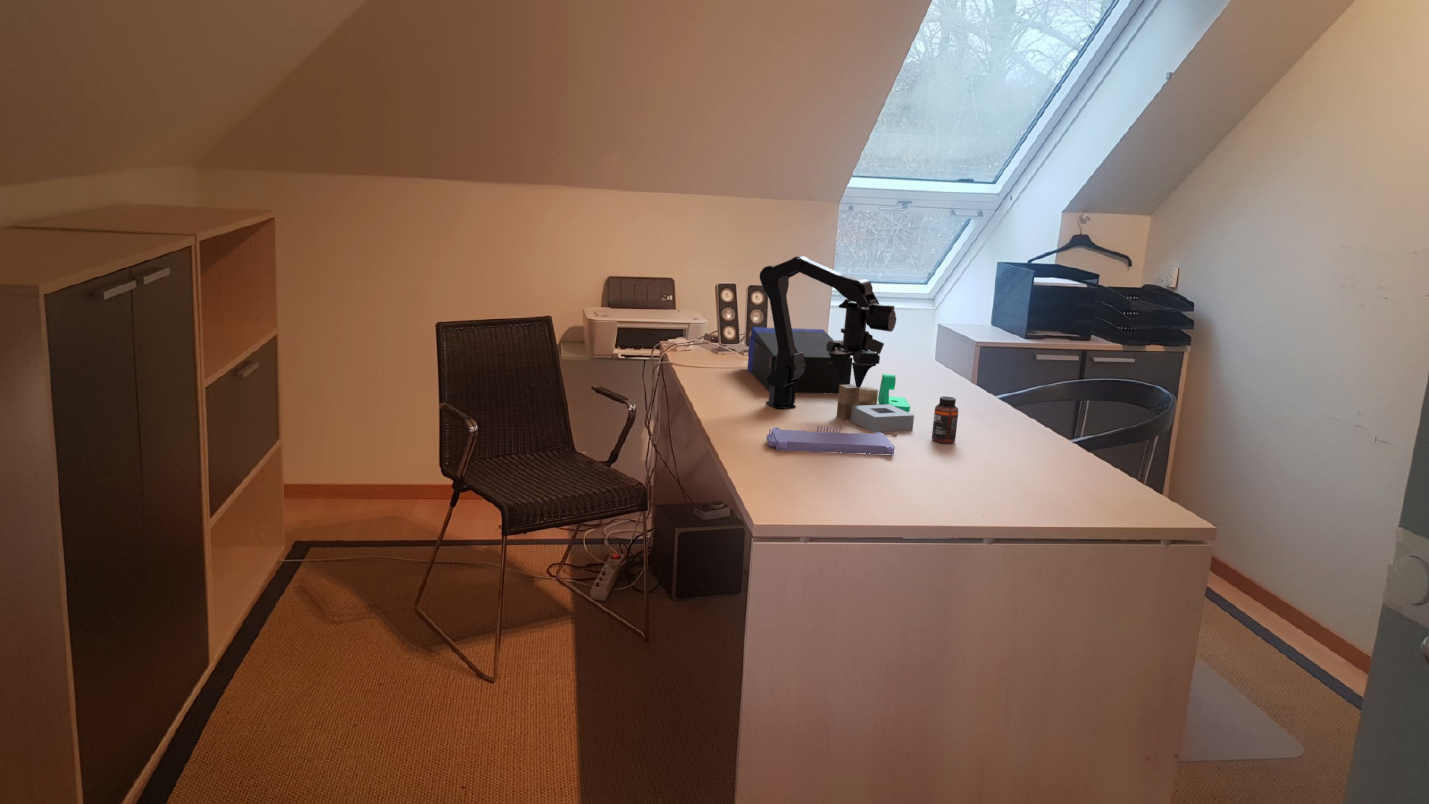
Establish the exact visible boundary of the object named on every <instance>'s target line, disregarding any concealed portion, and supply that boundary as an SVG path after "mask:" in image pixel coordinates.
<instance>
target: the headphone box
mask: <svg viewBox="0 0 1429 804" xmlns="http://www.w3.org/2000/svg"><path fill="white" fill-rule="evenodd" d="M792 333H793V339H794V345H795V348H796V349H797V351H798V353H801V352H803V353H804V362H805V364H806V366H805V367H804V373H803V374H802V376H801V377H800V378H798V380H797V383H794V385H795V390H796V394H824V393H839V385H850V384H851V379H852V370H853V366H852V362H853V357H852V356H850V357H849V359H848V360H847V363H846V368H845V373H844V378H843V380H839V378H838V375H837V372H836V370H835V367H834V364H833V362H832V359H831V357H830V355H829V351H827V350H826V348H827V343H828V342H829V341H835V339H833V337H831V336H830V335H829V334H828V332H826V331H825V329H823V328H821V329H818V328H794V327H793V328H792ZM748 344H749V345H748V352H747V356H748V359H747V371H748V372H749V373H750V374H751V375H752V376H753V377H754V378H755V379H756V381H758V382H759V383H760V384H761V385H762V386H763V387H764V388H765V389H766V390H767V392H768V393H769V392H770V385H768V381H767V377H769V376H770V375H771V374H772V373H773V372H775V371H776V357H777V353H778V346H777V341H776V335H775V329H774V327H763V326H762V327H761V326H757V327H756V326H752V327H751V331H750V336H749V343H748Z"/></svg>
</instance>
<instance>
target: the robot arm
mask: <svg viewBox="0 0 1429 804" xmlns="http://www.w3.org/2000/svg"><path fill="white" fill-rule="evenodd" d="M799 273H800V274H803V275H805V276H807V277H809V278H811V279H813V280H815V281H818V282H820V283H822V284H825V285H827V286H829V287H831V288H833V289H835V291H837V292H838V293H839V294H840V295H841V296H843V297H844V298H845V299H844V300H843V302H842V303H840V304H839V305H838V308H840V309H845V315H844V317H845V319H844V327H843V328H840V333H842V334H843V338H842V339H840V340H834V341H829V342H828V343H827V348H826V350H827V351H829V355H830V357H831V359H832V362H833V364H834V367H835V370H836V372H837V375H838V378H839V380H843V378H844V373H845V368H846V363H847V360H848V359H849V357H852V358H853V359H852V370H853V372H852V373H853V378H854V385H855V386H856V387H857V388H859V387H861V386H862V384H863V382H864V380H865V377H866V376H867V373H868V372H869V370H870V369H871V368H873V367H876V366H877V365H879V364H880V361H881V356H880V354H881V352H882V351H883V347H884V345H885V343H884V342H882V341H880V340H878V339H874V338H873V335H872V334H870V332H869V331H868V330H867V326H868V327H869V329H871V330H876V331H883V332H891V333H892V332H893V331H894V329H895V327H896V324H897V316H896V311H895V305H894V304H893V305H892V304H887V305H886V304H880V302H879V299H877V297H876V295H875V293H874V290H873V288H874V287H873V285H872V282H871V281H870V280H869V279H867V278H863V277H859V276H853V275H847V274H843V273H840V272H839V271H837V270H835V269H832V268H830V267H827V266H825V265H823V264H821V263H818V262H816V261H815V260H812V259H809V258H808V257H806V256H804V255H800V256H793V257H792V258H790V259H789V260H786V261H784V262H781V263H779V264H774V265H767V266H765V267H764V268H762V269H761V271H760V273H759V280H760V284H761V286H762V290H763V291H764V293H765V295H766V296H767V298H768V299H769V304H770V311H771V315H772V316H771V317H772V322H773V328H774V329H775V335H776V341H777V346H778V353H777V357H776V371H775V372H773V373H772V374H771V375H770V376H769V377H767V381H768V385H770V392H769V391H768V393H769V394H768V400H767V401H765V404H767V405H768V406H770V407H773V408H775V409H791V408H793V409H795V408H796V407H797V406H796V405H795V403H796V394H797V393H796V390H795V385H794V383H797V380H798V378H800V377H801V376H802V374H803V373H804V367H805V366H806V364H805V362H804V353H803V352H801V353H798V351H797V349H796V348H795V345H794V339H793V333H792V322H791V316H790V310H789V304H788V299H787V295H788V289H789V286H790V285H789V284H790V282H789V281H790V280H789V279H790V278H791V277H794V276H795V275H797V274H799Z"/></svg>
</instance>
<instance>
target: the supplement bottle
mask: <svg viewBox="0 0 1429 804" xmlns="http://www.w3.org/2000/svg"><path fill="white" fill-rule="evenodd" d="M956 400H957V399H956V398H955V397H952V396H944V395H943V396H940V397H939V403H938V404H936V405H935V407H934V414H933V422H932V423H933V424H932V431H931V432H932V434H931V439H932V441H934V442H936V443H940V444H954V443H955V442H956V437H957V429H958V428H957V427H958V418H959V408H958V407H957V406H956Z"/></svg>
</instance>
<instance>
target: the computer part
mask: <svg viewBox="0 0 1429 804" xmlns="http://www.w3.org/2000/svg"><path fill="white" fill-rule="evenodd" d="M819 428H820V431H819ZM822 428H823V431H822ZM841 428H842V427H841V426H839V431H838V426H836V431H835V426H833V430H832V425H830V428H829V426H828V425H827V426H826V425H824V426H823V427H822V425H820V427H819V425H817V430H816V431H813V430H812V431H811V430H810V431H809V430H808V431H805V430H797V429H796V430H794V429H781V428H780V427H776V426H775V427H772V429H771V428H769V432H768V434H766V441H767V444H768V445H769V446H771V447H775V448H776V449H775V450H786V451H785V452H798V451H807V452H806V453H821V452H838V453H837V454H845V453H866V454H865V455H868V454H869V453H870V454H891V455H892V454H893V455H894V453H895V445H894V444H893V442H892V441H891V440H890V439H889V438H888V437H887V436H886V434H884V433H882V432H874V433H862V432H861V433H859V432H841ZM825 429H826V431H825ZM808 451H809V452H808ZM840 452H841V453H840ZM891 455H890V456H891ZM894 456H895V455H894Z"/></svg>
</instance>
